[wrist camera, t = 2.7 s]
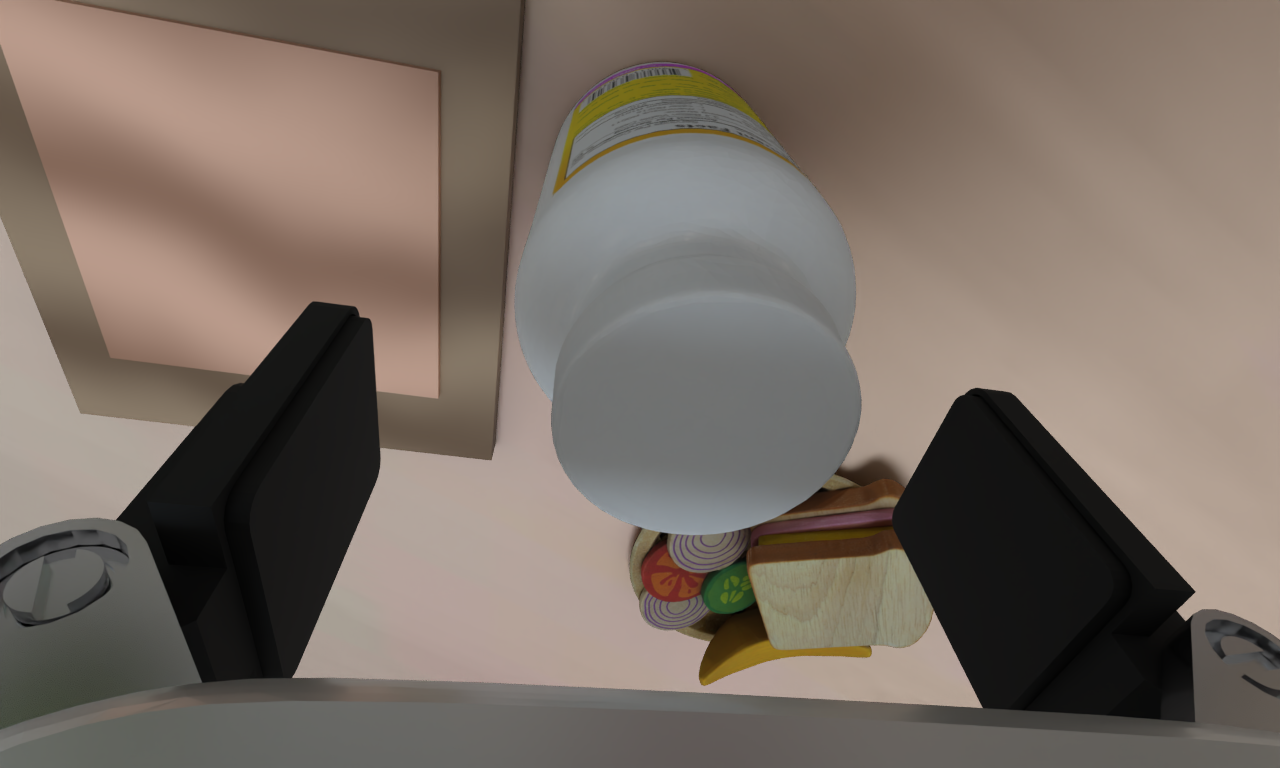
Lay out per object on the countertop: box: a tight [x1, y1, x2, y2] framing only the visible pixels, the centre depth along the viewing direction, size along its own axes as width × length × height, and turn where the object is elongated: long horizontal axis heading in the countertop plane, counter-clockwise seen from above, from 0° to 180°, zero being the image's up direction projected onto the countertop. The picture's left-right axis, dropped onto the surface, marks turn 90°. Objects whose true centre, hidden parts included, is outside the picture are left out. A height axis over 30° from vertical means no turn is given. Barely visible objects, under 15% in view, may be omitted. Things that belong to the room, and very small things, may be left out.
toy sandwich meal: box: [630, 474, 934, 686], centre depth 29 cm, size 12×14×5 cm
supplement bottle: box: [514, 62, 862, 535], centre depth 15 cm, size 7×7×13 cm
